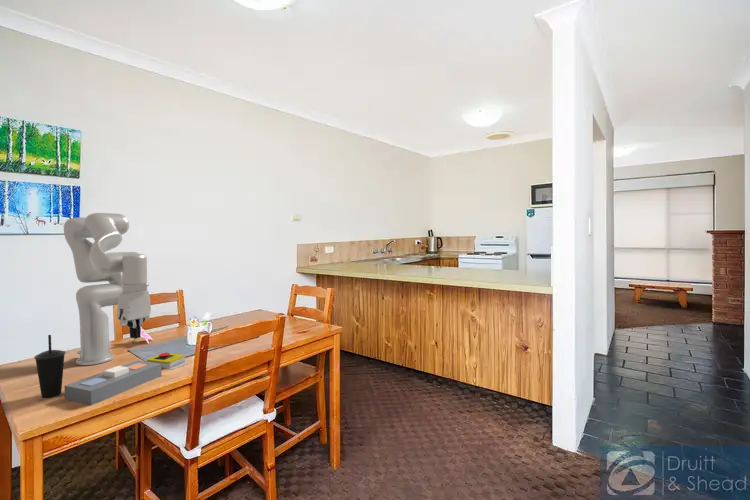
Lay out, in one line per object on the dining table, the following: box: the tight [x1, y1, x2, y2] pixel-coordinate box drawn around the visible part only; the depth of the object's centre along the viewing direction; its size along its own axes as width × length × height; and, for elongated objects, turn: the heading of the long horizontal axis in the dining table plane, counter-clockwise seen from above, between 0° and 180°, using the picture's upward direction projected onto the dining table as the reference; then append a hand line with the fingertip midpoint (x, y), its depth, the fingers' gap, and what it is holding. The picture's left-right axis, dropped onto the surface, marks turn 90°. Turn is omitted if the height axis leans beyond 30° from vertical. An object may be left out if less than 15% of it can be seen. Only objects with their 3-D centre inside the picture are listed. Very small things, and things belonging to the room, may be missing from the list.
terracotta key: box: [128, 363, 148, 370], centre depth 134 cm, size 5×5×3 cm
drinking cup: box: [33, 334, 67, 399], centre depth 120 cm, size 8×8×20 cm
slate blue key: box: [81, 378, 107, 387], centre depth 120 cm, size 5×5×3 cm
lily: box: [131, 326, 153, 345], centre depth 178 cm, size 12×12×10 cm
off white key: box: [103, 365, 129, 378], centre depth 127 cm, size 5×5×3 cm
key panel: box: [63, 359, 162, 406], centre depth 127 cm, size 12×25×4 cm, turn 162°
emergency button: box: [146, 352, 190, 370], centre depth 150 cm, size 9×4×15 cm
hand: (135, 337), depth 134 cm, fingers closed
